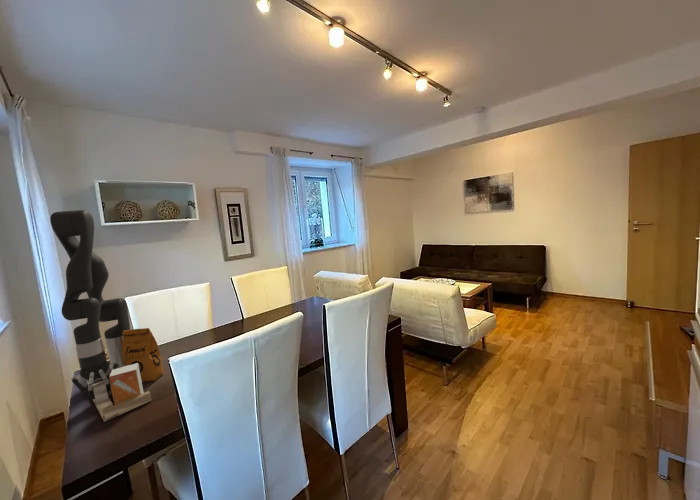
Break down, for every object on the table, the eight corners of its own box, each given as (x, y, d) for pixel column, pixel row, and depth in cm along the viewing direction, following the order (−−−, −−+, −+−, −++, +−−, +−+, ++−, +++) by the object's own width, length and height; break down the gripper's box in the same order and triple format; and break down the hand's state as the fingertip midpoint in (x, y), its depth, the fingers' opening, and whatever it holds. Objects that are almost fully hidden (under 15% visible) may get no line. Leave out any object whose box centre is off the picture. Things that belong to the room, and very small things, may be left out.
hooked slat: (88, 392, 123) (85, 375, 122) (130, 376, 133) (127, 360, 132) (104, 421, 103) (100, 402, 102) (151, 400, 113) (148, 382, 112)
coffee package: (153, 384, 125) (143, 332, 122) (124, 386, 126) (113, 334, 123) (168, 371, 135) (159, 323, 132) (141, 373, 136) (132, 325, 133)
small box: (115, 411, 109) (108, 376, 107) (118, 402, 114) (111, 369, 113) (142, 402, 113) (136, 369, 111) (144, 394, 118) (138, 362, 116)
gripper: (112, 342, 120) (121, 383, 123) (64, 357, 110) (74, 402, 112) (117, 347, 115) (125, 389, 118) (66, 363, 105) (77, 409, 107)
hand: (100, 395), depth 115 cm, fingers closed on hooked slat, 3 cm apart
